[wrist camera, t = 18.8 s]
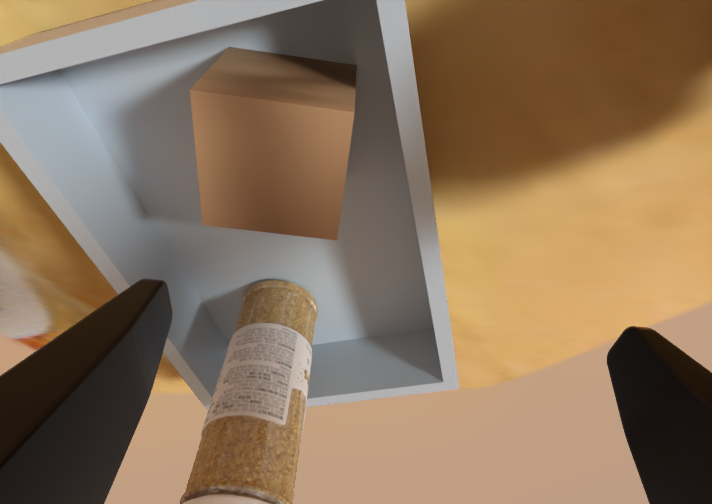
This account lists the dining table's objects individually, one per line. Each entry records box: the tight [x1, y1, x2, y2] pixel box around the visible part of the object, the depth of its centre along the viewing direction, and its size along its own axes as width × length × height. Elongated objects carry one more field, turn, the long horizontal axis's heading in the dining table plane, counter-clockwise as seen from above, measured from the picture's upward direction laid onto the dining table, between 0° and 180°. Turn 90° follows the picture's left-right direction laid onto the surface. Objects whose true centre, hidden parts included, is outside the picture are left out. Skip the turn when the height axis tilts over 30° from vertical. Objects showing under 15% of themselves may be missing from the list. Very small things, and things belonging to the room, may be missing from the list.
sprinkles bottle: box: [180, 280, 318, 504], centre depth 21 cm, size 5×5×13 cm
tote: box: [0, 0, 460, 410], centre depth 21 cm, size 15×21×4 cm
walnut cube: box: [190, 47, 357, 241], centre depth 17 cm, size 5×5×5 cm
